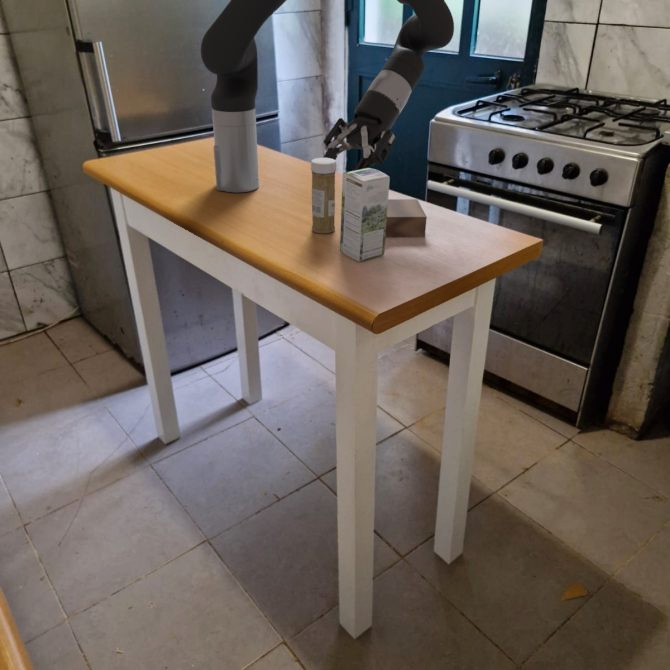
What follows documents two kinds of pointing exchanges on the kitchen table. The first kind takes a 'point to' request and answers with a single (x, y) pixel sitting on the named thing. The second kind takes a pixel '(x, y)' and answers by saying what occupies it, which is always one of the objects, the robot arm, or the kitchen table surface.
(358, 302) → the kitchen table surface
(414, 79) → the robot arm
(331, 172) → the sprinkles bottle
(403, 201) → the plinth
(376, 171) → the syrup box
